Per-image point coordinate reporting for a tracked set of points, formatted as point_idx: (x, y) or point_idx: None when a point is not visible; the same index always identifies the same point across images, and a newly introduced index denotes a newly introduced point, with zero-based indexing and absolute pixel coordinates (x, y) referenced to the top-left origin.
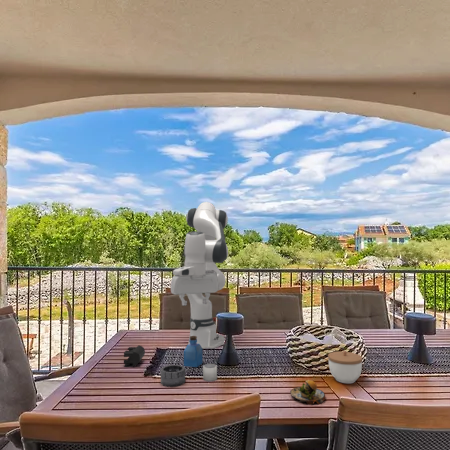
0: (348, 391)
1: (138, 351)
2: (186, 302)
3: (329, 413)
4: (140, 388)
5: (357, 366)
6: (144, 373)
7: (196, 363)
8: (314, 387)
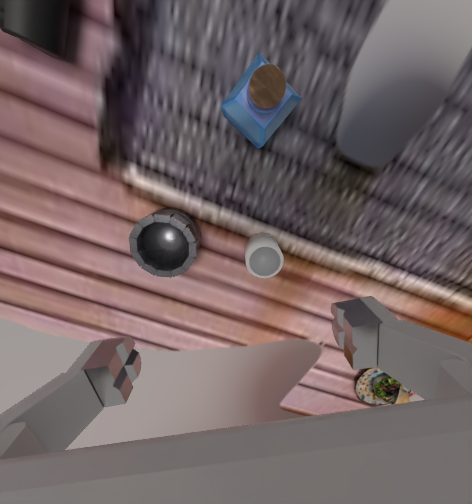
0: None
1: (31, 14)
2: (127, 390)
3: None
4: (96, 246)
5: None
6: (99, 142)
7: (258, 147)
8: None
